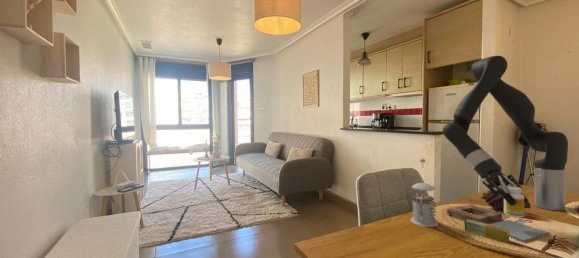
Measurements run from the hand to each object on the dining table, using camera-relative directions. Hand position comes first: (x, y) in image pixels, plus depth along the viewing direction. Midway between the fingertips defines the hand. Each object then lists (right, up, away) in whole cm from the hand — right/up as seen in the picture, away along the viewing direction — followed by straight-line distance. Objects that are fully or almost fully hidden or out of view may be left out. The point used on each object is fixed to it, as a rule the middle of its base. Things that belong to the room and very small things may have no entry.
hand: (520, 203), depth 84 cm
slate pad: (0, -10, +2) cm, 11 cm away
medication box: (-12, -11, 0) cm, 17 cm away
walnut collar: (-5, -10, +15) cm, 19 cm away
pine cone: (+12, -10, +21) cm, 26 cm away
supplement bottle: (0, -5, +2) cm, 5 cm away
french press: (-27, -11, +12) cm, 31 cm away
